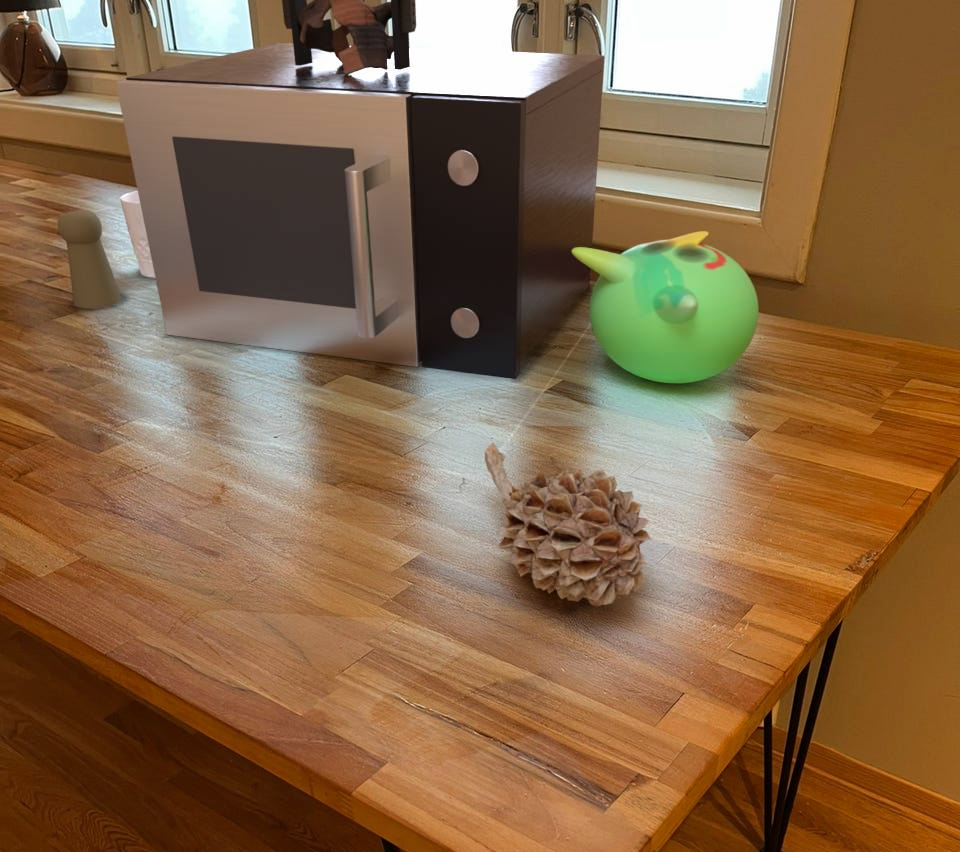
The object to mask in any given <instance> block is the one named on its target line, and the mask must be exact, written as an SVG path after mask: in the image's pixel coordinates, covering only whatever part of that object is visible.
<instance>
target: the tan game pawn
mask: <svg viewBox="0 0 960 852" xmlns="http://www.w3.org/2000/svg"><path fill="white" fill-rule="evenodd" d="M57 229H58V233H59V235H60V237H61V238H62V239H63V240H64V241H65V242H66V251H67V257H68V266H69V275H70V283H71V290H72V299H73V305H74V306H76V307H78V308H82V309H83V308H84V309H97V308H98V309H99V308H104V307H110V306H112V305H116V304H118V303H120V302H121V301H122V295H121V292H120V289H119V287H118V283H117V281H116V279H115V275H114V273H113V271H112V267H111V265H110V262H109V259H108V257H107V254H106V251H105V248H104V245H103V243H102V240H101V237H102V235H103V226H102V222H101V219H100V217H99V216H98V215H97V214H96V213H95V212H92V211H89V210H73V211H72V210H71V211H67V212H64V213H62V214H61V215H60V216H59V217H58V220H57Z"/></svg>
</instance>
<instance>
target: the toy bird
mask: <svg viewBox="0 0 960 852" xmlns="http://www.w3.org/2000/svg"><path fill="white" fill-rule="evenodd" d="M708 236H709V232H708V231H705V230H701V231H695V232H691V233H686V234H683V235H680V236H677V237H673V238H670V239H660V240H659V239H658V240H653V241H649V242H645V243H641V244H637V245H635V246H632V247H630V248H629V249H627V250H624V251H623V252H621V253H620V254H619V253H616V252H610V251H607V250H602V249H598V248H597V249H596V248H593V247H592V248H586V247H576V248H573V249H572V254H573V255H574V256H575V257H576V258H577V259H578V260H580V261H581V262H582V263H584V264H585V265H587V266H588V267H590V268H591V270H593V271H594V272H596V273H597V274H599V276H598V278H597V280H596V282H595V284H594V286H593V290H592V293H591V296H590V301H589V321H590V325H591V330H592V331H593V335H594V337H595V339H596V341H597V344H598V345H599V346H600V348H601V349H602V351H603V352H604V353H605V354H606V355H607V356H608V357H609V358H610V359H611V360H612V362H614V363H615V364H617V365H618V366H619V367H621V368H622V369H624V370H625V371H627V372H629V373H631V374H632V375H634V376H637V377H638V378H642V379H645V380H648V381H652V382H656V383H663V384H689V383H696V382H700V381H703V380H706V379H710V378H712V377H715V376H717V375H719V374H722V373H723V372H724V371H726V370H727V369H729V368H730V367H731V366H734V364H735V363H736V362H737V361H738V360H739V359H741V357H742V356H743V355H744V353H745V352H746V351H747V349H748V347H749V346H750V345H751V342H752V341H753V338H754V336H755V333H756V330H757V327H758V323H759V315H760V314H759V313H760V311H759V310H760V308H759V302H758V301H759V300H758V295H757V292H756V289H755V285H754V284H753V282H752V280H751V278H750V277H749V275H748V273H747V272H746V271H745V270H744V268H743V267H742V266H741V265H740V264H739V262H737V261H736V260H735V259H734V258H732V257H730V256H729V255H728V254H726V253H724V252H722V251H721V250H720V249H717V248H715V247H713V246H710V245H708V244H704V243H701V242H702V241H703V240H705V239H706V238H707V237H708Z"/></svg>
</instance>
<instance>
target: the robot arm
mask: <svg viewBox="0 0 960 852" xmlns="http://www.w3.org/2000/svg"><path fill="white" fill-rule="evenodd" d="M390 2H391V13H392V18H391V30H392V31H391V33H392V36H393V53H394V70H402V69H405V68H408V67H410V50H409V48H410V34H411V33H414V32H416V28H417V6H416V4H417V3H416V0H390ZM281 4H282V5H281V6H282V12H283V13H282V15H283V24H284V26H285V29H287V30H288V29H289V30H291V36H292V44H293V47H294V57H295V65H298V66H302V65H306V64H309V63H312V52H311V49H309V48H307V47H306V45H304V44H303V43H302V42H301V40H300V36H301V31H302V26H301V24H300V22H299V15H300V13H301V12H302V10H303V8H304V7H305V6H306V5H308V1H307V0H281Z"/></svg>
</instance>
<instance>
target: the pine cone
mask: <svg viewBox="0 0 960 852" xmlns="http://www.w3.org/2000/svg"><path fill="white" fill-rule="evenodd" d="M505 457H506V456H505V453H503V452H500V450H499V448H498V446H497V444H495V442H492V441H490V444H489V445H488V446H487V448H486V449H485V450H484V462H485V465H486V469H487V471H488V472H489V473H490V476H491V479H492V481H493V483H494V485H495V487H496V488H497V491H498V492H499V493H500V496H501V498H502V503H503V505H504V507H505V512H504V514H505V519H504V520H503V521H502V524H501V526H500V527H499V528H498V529H497V531H496V533H495V535H498V536H501V537H503V538H502V539H501V541H500V542H499V544H498V548H499V550H506V549H509V550H510V551H512V553H511V554H510V555H509V561H510V563H511V564H513V565H514V568H516V570H517V572H518V574H519V577H523V576H524V575H526V574H528V573H529V574H531V578H532V582H533V586H534V588H535V589H541V590H542V591H545V590H547V593H548V594H551V593H552V592H554V591H555V590H556V592H557V595H558V597H559V598H560V599H561V600H563V599H565V598H566V599H567V601H568V602H569V601H573V602H577V603H579V602H580V601H581V600H582V599H583V598H584V599H587V600H588V602H589V604H591V605H592V606H594V607H602V605H603V606H606V605H609V604H613V603H614V601H615V600H616V598H617V596H618V595H626V596H627V595H628V596H633V595H634V594H635V593H636V591H638V590H639V589H640V588H642V587H644V586H645V585H646V582H645V578H644V573H643V571H641V569H643V568H644V567H645V566H647V565H648V563H647V562H646V557H647V556H645V555H644V554H643V553H642V552H641V547H640V546H641V545H642V544H643V543H645V542H646V541H650V540H651V539H652V538H651V536H650V535H649V533H648V532H647V530H644V528H645V527H646V526H647V525H648V524H649V523H650V519H648V518H646V517H641V516H640V512H641V510H642V507H643V504H640V503H639V502H636V501H633V500H634V493H633V490H629V491H622V490H621V489H618V490H616V488H617V487H618V483H617V481H616V477H615V476H608V475H607V474H606V472H605V470H604V469H598V470H595V471H594V472H593V473H592V474H590V475H589V476H588V475H587V476H586V477H584V473H583V471H582V469H579V470H577V471H576V472H575V471H573V470H572V469H567V470H565V469H563V470H562V471H561V472H560V473H559V474H558V475H556V476H554V477H553V478H552V477H551V476H549V475H548V476H547V475H546V474H545V473H544V471H540V472H538V473H537V474H535V475H532V476H531V477H530V479H529V480H528V481H525V482H522V483H519V484H515V485H513V484H512V482H511V481H510V480H509V477H508V475H507V473H506V470H505V467H504V462H505V459H506V458H505Z"/></svg>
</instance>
